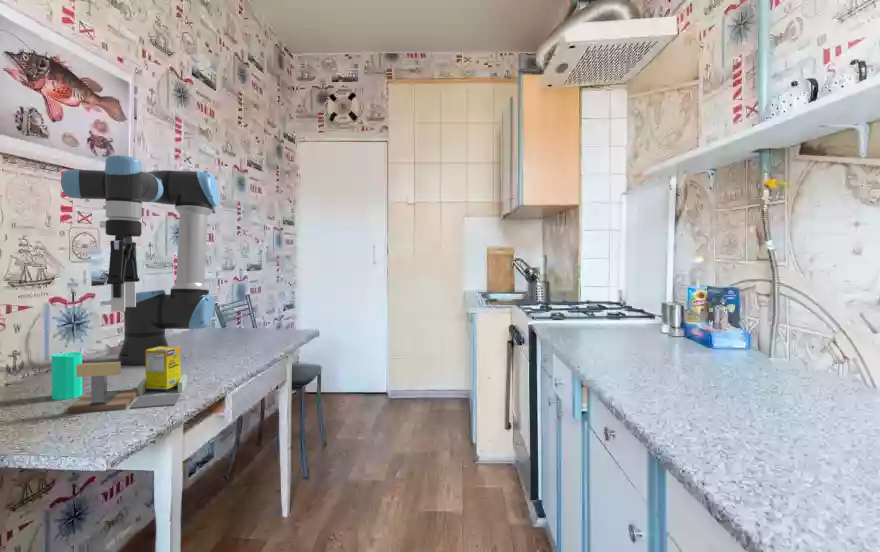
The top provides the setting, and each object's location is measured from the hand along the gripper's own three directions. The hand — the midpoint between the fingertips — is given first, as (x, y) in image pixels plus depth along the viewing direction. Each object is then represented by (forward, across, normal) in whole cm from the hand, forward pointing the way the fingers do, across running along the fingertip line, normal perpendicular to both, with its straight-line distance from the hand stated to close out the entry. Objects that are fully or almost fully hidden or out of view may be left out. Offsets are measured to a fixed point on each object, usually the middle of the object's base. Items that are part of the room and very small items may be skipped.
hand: (124, 309), depth 122 cm
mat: (+22, +8, +8) cm, 25 cm away
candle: (+22, -3, -13) cm, 26 cm away
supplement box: (+22, -4, +8) cm, 24 cm away
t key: (+20, +11, -2) cm, 23 cm away
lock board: (+22, +6, -2) cm, 23 cm away
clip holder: (+22, -4, +8) cm, 24 cm away
